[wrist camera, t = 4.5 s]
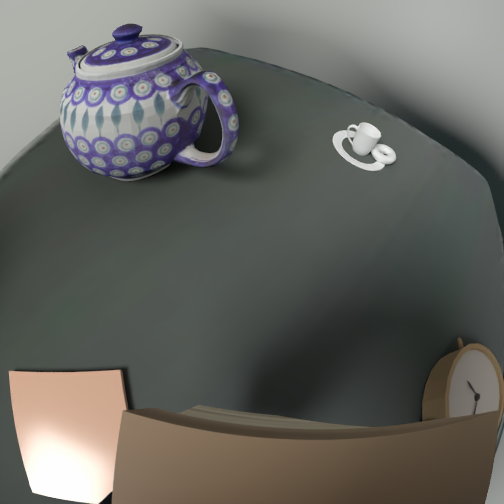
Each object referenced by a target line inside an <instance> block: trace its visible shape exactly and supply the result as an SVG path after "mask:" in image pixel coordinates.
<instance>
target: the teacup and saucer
mask: <svg viewBox="0 0 504 504" xmlns="http://www.w3.org/2000/svg"><path fill="white" fill-rule="evenodd" d="M351 127H354V128H356V130H357V131H356V132H353V131H349V128H351ZM347 137H348V139H349V141H350V143H351V145H352V148H353V150H354V151H355V152H356V153H357V154H359V155H362V156H365V155H367V154H368V153H369V152H370V151H371V154H372V156H373V157H374V159H376V160H377V161H376V162H375V163H373V164H364V163H361V162H359V161H357V160H355V159H353V158H352V157H350V156H349V155H348V154H347V153H346V152H345V150H344V149H343V147H342V140H343V139H344V138H347ZM350 137H354V139H353V142H352V141H351V139H350ZM380 137H381V133H380V132H379V130H378V129H377V128H375V127H374V126H372V125H371V124H368V123H360V124H359V126H356V125H350V126H349V127H348V129H347V131H346V130H345V131H339V132H337V133H336V134H335V135H334V136H333V144H334V147H335V148H336V150H337V151H338V153H339V154H340V155H341V156H342V157H343V158H344V159H346V160H347V161H348V162H350V163H351V164H353V165H355V166H357V167H359V168H362V169H365V170H369V171H378V170H381V169H383V168H384V166H385V164H392V163H393V162H394V161H395V160H396V154H395V152H394V151H393V150H392V149H391V148H390V147H388V146H386V145H383V144H376V143H377V142H378V140H379V139H380ZM383 153H384V154H386V155H387V156H386V155H384V154H383Z"/></svg>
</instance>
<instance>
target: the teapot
mask: <svg viewBox="0 0 504 504" xmlns="http://www.w3.org/2000/svg"><path fill="white" fill-rule="evenodd" d="M141 31H142V26H139V25H136V24H126V25H123V26H120V27H119V28H117V29H116V30H115V31H114V32H113V33H112V35H113V37H114V38H115V41H112V42H109V43H106V44H104V45H101V46H99V47H97V48H95V49H93V50H91V51H90V52H88V51H87V49H86V47H85V46H80V47H78V48H76V49H73V50H71V51H69V52H67V54H68V56H69V58H70V60H71V63H72V66H73V69H74V73H75V76H74V77H73V79H72V80H71V82H70V83H69V84H68V85H67V86H66V87H65V88H64V91H63V94H62V98H61V103H60V123H61V129H62V132H63V136H64V139H65V142H66V144H67V146H68V148H69V150H70V151H71V153H72V154H73V155H74V157H75V158H76V159H77V160H78V161H79V162H80V163H81V164H82V165H83V166H85V167H86V168H87V169H89V170H90V171H92V172H94V173H97V174H100V175H104V176H109V177H111V178H114V179H117V180H122V181H133V180H139V179H142V178H145V177H149V176H151V175H153V174H155V173H158V172H159V171H161V170H163V169H165V168H166V167H168V166H169V165H170V164H171V163H174V162H179V163H182V164H186V165H191V166H196V167H205V168H206V167H213V166H215V165H218V164H220V163H222V162H223V161H225V160H226V159H227V158H228V157H229V156H230V154H231V153H232V151H233V150H234V148H235V145H236V142H237V138H238V134H239V119H238V114H237V110H236V106H235V103H234V100H233V98H232V96H231V94H230V92H229V90H228V88H227V86H226V85H225V84H224V83H223V81H222V80H221V79H220V78H219V77H218V76H217V75H216V74H215V73H213V72H212V71H203V69H202V68H201V66H200V65H199V63H198V62H197V61H196V60H195V59H194V58H193V57H192V56H190V55H189V54H188V52H187V51H185V50H184V49H183V43H182V42H181V40H179V39H177V38H174V37H171V36H167V35H155V34H152V35H139V34H140V32H141ZM208 95H209V97H210V98H211V100H212V102H213V104H214V106H215V108H216V110H217V113H218V116H219V119H220V122H221V126H222V135H223V138H222V144H221V147H220V149H219V151H217V152H215V153H204V152H200V151H198V150H197V149H196V148H195V147H194V142H195V140H196V139H197V138H198V137H199V135H200V132H201V129H202V127H203V124H204V120H205V116H206V111H207V104H208Z"/></svg>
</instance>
